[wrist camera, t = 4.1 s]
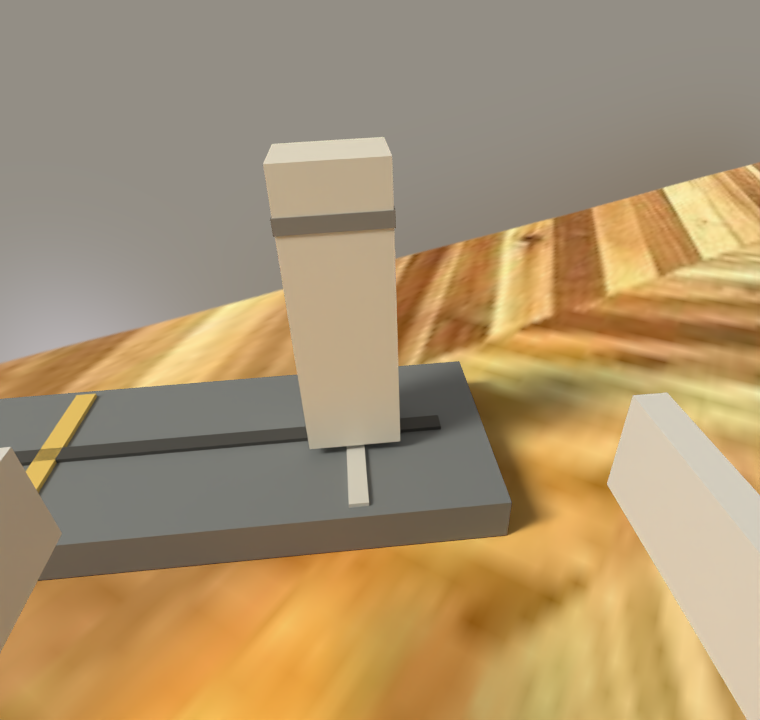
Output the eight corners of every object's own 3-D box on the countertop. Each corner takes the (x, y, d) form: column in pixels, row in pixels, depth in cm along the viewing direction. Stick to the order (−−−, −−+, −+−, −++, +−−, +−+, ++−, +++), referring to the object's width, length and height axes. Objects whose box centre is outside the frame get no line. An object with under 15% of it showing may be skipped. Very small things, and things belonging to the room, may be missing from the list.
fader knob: (394, 398, 25) (384, 136, 19) (401, 441, 23) (393, 156, 16) (310, 405, 25) (270, 143, 18) (308, 450, 23) (261, 164, 16)
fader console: (457, 390, 30) (459, 358, 29) (507, 535, 21) (512, 499, 20) (-7, 429, 29) (-26, 398, 27) (-144, 597, 20) (-180, 563, 19)
